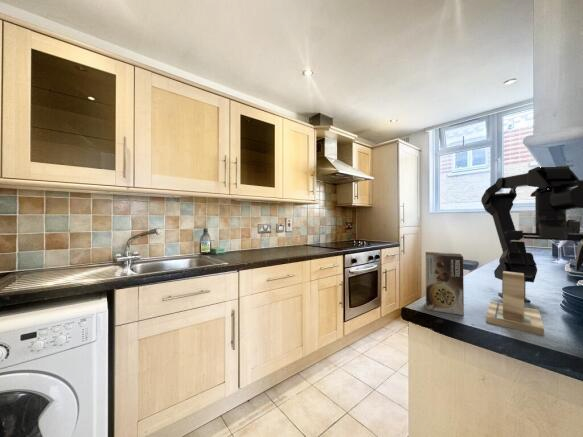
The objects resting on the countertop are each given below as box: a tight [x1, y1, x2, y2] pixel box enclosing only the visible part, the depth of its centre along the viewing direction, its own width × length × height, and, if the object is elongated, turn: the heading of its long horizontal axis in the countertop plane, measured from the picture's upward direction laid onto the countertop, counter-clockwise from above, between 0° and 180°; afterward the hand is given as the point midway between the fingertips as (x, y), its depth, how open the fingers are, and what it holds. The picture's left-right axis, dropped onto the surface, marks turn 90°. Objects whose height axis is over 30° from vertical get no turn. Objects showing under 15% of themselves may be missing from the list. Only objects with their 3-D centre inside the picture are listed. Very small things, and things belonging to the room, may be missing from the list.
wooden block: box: [502, 271, 525, 323], centre depth 58 cm, size 6×4×11 cm, turn 137°
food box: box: [425, 251, 465, 316], centre depth 68 cm, size 9×6×16 cm
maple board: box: [485, 300, 545, 337], centre depth 61 cm, size 16×10×2 cm, turn 136°
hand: (550, 268), depth 64 cm, fingers open, 9 cm apart
